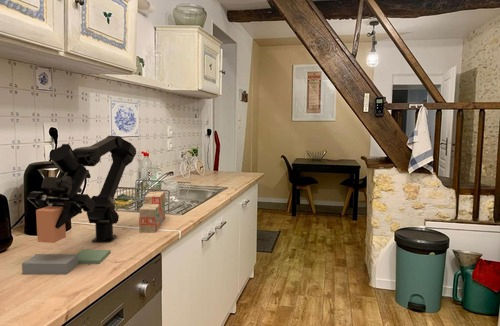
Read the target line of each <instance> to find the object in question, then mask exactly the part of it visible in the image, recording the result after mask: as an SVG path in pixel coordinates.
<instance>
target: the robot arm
mask: <svg viewBox="0 0 500 326" xmlns="http://www.w3.org/2000/svg"><path fill="white" fill-rule="evenodd" d="M136 149H137V148H136V147H135V145H133V143H131V142H130V141H128V140H126V139H124V138H123V137H122V136H119V135H107V136H106V137H105V138H104V139H102V140H100V141H97V142H96V143H94V144H92V145H88V146H82V147H76V148H74V149H73V148H72V147H71V145H70V144H69V143H62V144H61V145H60V146H58V147H57V148H54V149H53V150H52V151H50V153H49V159H50V160H51V161H52V162H53V164H54V165H55V166H56V167H57V169H58V171H60V172H61V173H64V175H62V176H61V177H55V176H44V177H43V180H42V183H41V189H45V190H48V193H49V194H50V195H52V196H48V195H47V194H46V193H45V191H34V190H33V191H30V192H29V193H28V195H27V197H26V199H27V200H28V201H29V203H31V204H32V205H33V206H34V207H35V208H37V209H41V208H44V207H47V206H53V205H63V207H64V208H63V211H62V213H61V215H60V217H59V219H58V221H57V223H56V226H55V227H56V228H57V229H58V228H60V227H61V226H62V225H64V224H65V225H66V224H67V223H68V222H69V221H70V220H71V219H73V218H75V217H76V216H78V215H80V214H82V213H83V212H85V213H86V216H87V218H88V224H95V237H94V238H93V239H92V240H91V242H95V243H96V242H97V243H101V242H102V243H104V242H105V243H108V242H110V243H111V241H113V240H114V239H115V238H116V237H117V234H114V227H113V225H115V224H117V223H118V222H119V219H120V215H119V214H118V213H117V211H116V210H115V209H116V205H115V201H114V198H115V196H116V193H117V190H118V187H119V185H120V182H121V180H122V177H123V174H124V172H125V169H126V167H127V166H129V165H130V164H131V163H132V162H133V160H134V159H135V157H136V156H137V150H136ZM108 153H110V156H111V160H112V163H111V165H110V168H109V170H108V172H107V175H106V178H105V180H104V183H103V185H102V187H101V190H100V192H99V193H98V195H92V196H91V197H90V195H89V194H88V193H87V194H86V193H82V191H83V189H82V188H81V187H82V185H83V183H84V182H85V180H86V179H91V173H90V171H89V169H87V168H86V167H93V168H94V167H95V166H97V165H98V163H100V162H101V157H103V156H105V155H106V154H108Z"/></svg>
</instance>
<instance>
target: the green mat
mask: <svg viewBox="0 0 500 326" xmlns="http://www.w3.org/2000/svg"><path fill="white" fill-rule="evenodd" d="M111 252H112V251H111V249H81V250H80V251H78V252H77V253H76V254H78V265H81V264H82V265H83V264H84V265H86V264H87V265H88V264H90V265H91V264H93V265H94V264H95V265H97V264H98V265H99V264H101V263H102V262H103V261H104V260H105V259H106V258H107V257H108V256H109V255H110V254H111Z"/></svg>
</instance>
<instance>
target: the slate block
mask: <svg viewBox="0 0 500 326" xmlns="http://www.w3.org/2000/svg"><path fill="white" fill-rule="evenodd" d="M78 265H79V264H78V254H77V253H76V254H75V253H74V254H71V253H70V254H69V253H68V254H64V253H63V254H61V253H57V254H56V253H55V254H54V253H49V254H48V253H45V254H44V253H42V254H41V253H36V254H34V255H33V256H31V257H30V258H28V259H27V260H25V261H24V262H22V263H21V268H22V269H21V270H22V275H29V274H30V275H68V274H69V273H70V272H71V271H73V269H74V268H76V267H77V266H78Z"/></svg>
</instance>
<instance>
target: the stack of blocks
mask: <svg viewBox="0 0 500 326" xmlns="http://www.w3.org/2000/svg"><path fill="white" fill-rule="evenodd" d="M138 212H139V217H138V219H139V220H138V222H139V233H156V232H157V231H158V230H159V229H160V226H161V225H162V224H163V222H164V221H163V220H165V219H166V192H165V191H149V192H148V193H147V194H146V195H144V204H143V205H142V206H141V207H140V208H139V211H138Z"/></svg>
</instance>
